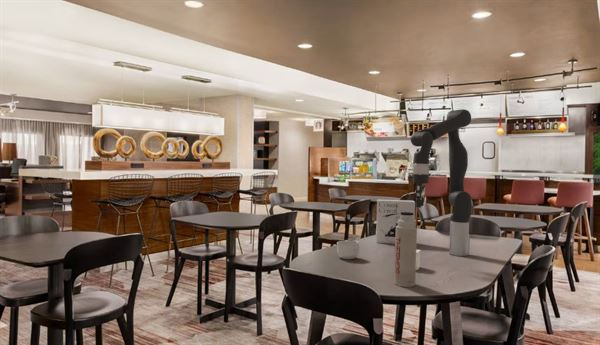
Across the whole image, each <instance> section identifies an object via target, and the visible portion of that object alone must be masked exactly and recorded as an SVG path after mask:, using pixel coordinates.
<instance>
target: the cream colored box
mask: <svg viewBox="0 0 600 345" xmlns="http://www.w3.org/2000/svg"><path fill="white" fill-rule="evenodd" d="M420 267H421V249H416V271H418V270H419V269H420Z"/></svg>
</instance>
